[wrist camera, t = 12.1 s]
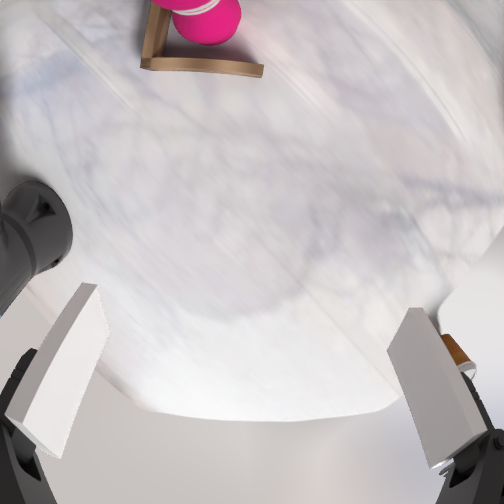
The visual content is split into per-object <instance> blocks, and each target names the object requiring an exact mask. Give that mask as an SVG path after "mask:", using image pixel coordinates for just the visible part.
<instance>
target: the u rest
mask: <svg viewBox="0 0 504 504" xmlns="http://www.w3.org/2000/svg"><path fill="white" fill-rule="evenodd" d="M171 13H172V10H169V9H165V8H162V7H160V6H158V5H156V4H155V3H154V2H152V3H151V8H150V12H149V17H148V22H147V27H146V33H145V39H144V45H143V51H142V58H141V65H140V68H142V69H147V70H151V71H192V72H209V73H221V74H232V75H241V76H249V77H256V78H261V77H262V74H263V68H264V65H262V64H255V63H247V62H238V61H228V60H217V59H202V58H164V52H165V45H166V39H167V34H168V28H169V23H170V18H171Z"/></svg>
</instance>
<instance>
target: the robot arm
mask: <svg viewBox="0 0 504 504" xmlns="http://www.w3.org/2000/svg"><path fill="white" fill-rule="evenodd" d="M72 239H73V232H72V225H71V220H70V217H69V214H68V212H67V210H66V208H65V206H64V204H63V202H62V201H61V199H60V198H59V197H58V196H57V194H56V193H55V192H54V191H53V190H52V189H50V188H49V187H48V186H46V185H44V184H42V183H39V182H34V181H30V182H26V183H23V184H22V185H20V186H18V187H16V188H15V189H14V190H12V191H11V192H10V193H9V195H8V196H7V198H6V199H5V200H4V202H3V203H2V204H1V202H0V318H1V316H2V315H3V314H4V312H5V311H6V310H7V309H8V307H9V306H10V305H11V303H12V302H13V301H14V299H15V298H16V297H17V296H18V294H19V293H20V292H21V291H22V289H23V288H24V287H25V286H26V285H27V283H28V282H29V281H30V280H31V279H32V278H33V277H34V276H35V275H38V274H40V273H42V272H44V271H46V270H49V269H51V268H53V267H55V266H57V265H58V264H59V263H60V262H61V261H62V260H63V259H64V258H65V257H66V256H67V254H68V253H69V251H70V248H71V245H72ZM109 335H110V330H109V327H108V323H107V320H106V316H105V312H104V309H103V305H102V301H101V297H100V293H99V289H98V285H95V284H88V283H82V284H81V285H80V287H79V288H78V289H77V291H76V292H75V294H74V295H73V297H72V298H71V299H70V301H69V302H68V304H67V305H66V307H65V308H64V310H63V311H62V313H61V314H60V316H59V317H58V319H57V320H56V322H55V324H54V325H53V327H52V328H51V330H50V331H49V333H48V335H47V336H46V338H45V340H44V341H43V343H42V345H41V346H40V348H39V350H36V349H32V348H31V349H29V350H28V351H27V352H26V353H25V354H24V355H23V356H22V357H21V358H20V360H19V362H18V363H17V365H16V367H15V369H14V370H13V372H12V374H11V378H9V379H8V381H7V383H6V385H5V387H4V389H3V390H2V393H1V395H0V504H57V502H56V500H55V498H54V496H53V494H52V491H51V489H50V487H49V484H48V482H47V480H46V477H45V475H44V472H43V470H42V467H41V465H40V462H39V459H38V456H37V454H36V452H35V448H36V446H37V447H38V448H39V449H40V450H42V451H43V452H44V453H46V454H49V455H51V456H53V457H55V458H58V459H61V457H62V454H63V451H64V448H65V444H66V442H67V438H68V436H69V433H70V430H71V427H72V424H73V422H74V419H75V416H76V413H77V411H78V408H79V405H80V402H81V400H82V398H83V395H84V393H85V390H86V388H87V385H88V382H89V380H90V378H91V375H92V373H93V371H94V368H95V366H96V364H97V361H98V359H99V357H100V355H101V352H102V350H103V348H104V346H105V343H106V341H107V339H108V337H109ZM387 352H388V355H389V357H390V360H391V362H392V364H393V367H394V369H395V372H396V374H397V377H398V379H399V382H400V384H401V387H402V390H403V392H404V395H405V398H406V400H407V403H408V406H409V408H410V411H411V414H412V417H413V420H414V422H415V425H416V428H417V431H418V434H419V437H420V440H421V443H422V446H423V449H424V453H425V456H426V459H427V463H428V466H429V469H432V468H435V467H438V466H440V465H443V464H444V463H446V462H448V461H449V460H450V459H452V458H453V459H454V462H453V463H451V464H450V465H448V466H447V467H445V468H444V469H443V470H442V471H441V472H440V473H439V475H442V474H444V473H445V472H447V471H448V470H449V471H448V473H447V474H445V475H444V477H446V479H445V482H444V485H443V487H442V490H441V492H440V495H439V497H438V499H437V502H436V504H504V431H503V430H502V429H495V428H494V426H493V425H492V422H491V420H490V418H489V416H488V414H487V412H486V409H485V407H484V405H483V403H482V401H481V400H480V399H479V395H478V393H477V392H476V389H475V387H474V385H473V383H472V381H471V379H470V378H469V377H468V376H467V375H466V374H465V373H464V372H460V371H459V369H458V368H457V366H456V364H455V362H454V360H453V358H452V357H451V355H450V353H449V351H448V350H447V348H446V346H445V344H444V343H443V341H442V339H441V337H440V336H439V334H438V332H437V331H436V329H435V327H434V326H433V324H432V322H431V321H430V319H429V318H428V316H427V314H426V313H425V311H424V310H423V308H409V309H408V311H407V314H406V316H405V318H404V319H403V321H402V323H401V325H400V327H399V329H398V331H397V333H396V335H395V337H394V339H393V340H392V342H391V344H390V346H389V348H388V349H387Z"/></svg>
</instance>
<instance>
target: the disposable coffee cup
mask: <svg viewBox="0 0 504 504" xmlns="http://www.w3.org/2000/svg"><path fill="white" fill-rule="evenodd" d="M440 337H441V339H442V341H443V343H444V344H445V346H446V348H447V350H448V351H449V353H450V355H451V357H452V358H453V360H454V362H455V364H456V366H457V368H458V369H459V371H460V372H464V373H465V374H466V375H467V376H468V377H469V378H470V379H471V381H472V380H473V379H474V377H475V376H476V374H477V369H476V364H475V363H473V362H472V361H471V360H470V359H469V358H468V356H467V355H466V354H465V353H464V351H463V350H462V349H461V348H460V347H459V345H458V344H457V343H456V342H455V340H454V339H453V338H452V337H451V336H450V335H449V334H444V335H441V336H440Z"/></svg>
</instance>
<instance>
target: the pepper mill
mask: <svg viewBox="0 0 504 504" xmlns="http://www.w3.org/2000/svg"><path fill="white" fill-rule="evenodd" d="M151 1H152V2H154V3H155V4H156V5H158V6H160V7H162V8H165V9H169V10H172V11H173V22H174V25H175V27H176V29H177V30H178V32H179V33H180V34H181V35H182V36H183V37H184V38H186V39H187V40H189V41H192V42H195V43H199V44H202V45H208V46H212V45H218V44H221V43H223V42H225V41H227V40H228V39H230V38H231V37H232V36H233V34H234V33H235V32H236V29H237V27H238V24H239V22H240V19H241V8H240V5H239V2H238V0H151Z"/></svg>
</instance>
